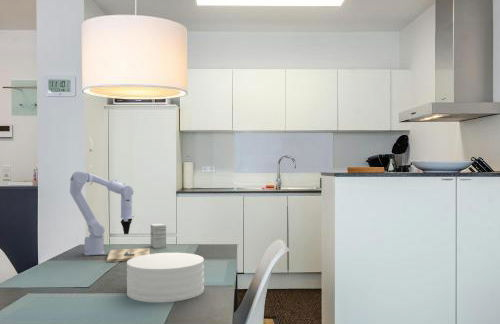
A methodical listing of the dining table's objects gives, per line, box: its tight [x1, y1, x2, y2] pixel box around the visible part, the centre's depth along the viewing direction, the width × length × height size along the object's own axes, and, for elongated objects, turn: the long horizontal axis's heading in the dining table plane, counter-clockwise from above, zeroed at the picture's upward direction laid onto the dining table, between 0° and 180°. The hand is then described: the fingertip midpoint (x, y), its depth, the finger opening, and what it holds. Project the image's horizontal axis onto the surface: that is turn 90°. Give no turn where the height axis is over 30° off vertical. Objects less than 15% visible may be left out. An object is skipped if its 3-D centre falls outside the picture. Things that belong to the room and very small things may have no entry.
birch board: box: [106, 247, 151, 263], centre depth 229 cm, size 20×24×2 cm
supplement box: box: [150, 223, 167, 249], centre depth 255 cm, size 7×7×13 cm
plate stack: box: [126, 252, 205, 303], centre depth 167 cm, size 28×28×12 cm
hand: (126, 233), depth 244 cm, fingers open, 7 cm apart
